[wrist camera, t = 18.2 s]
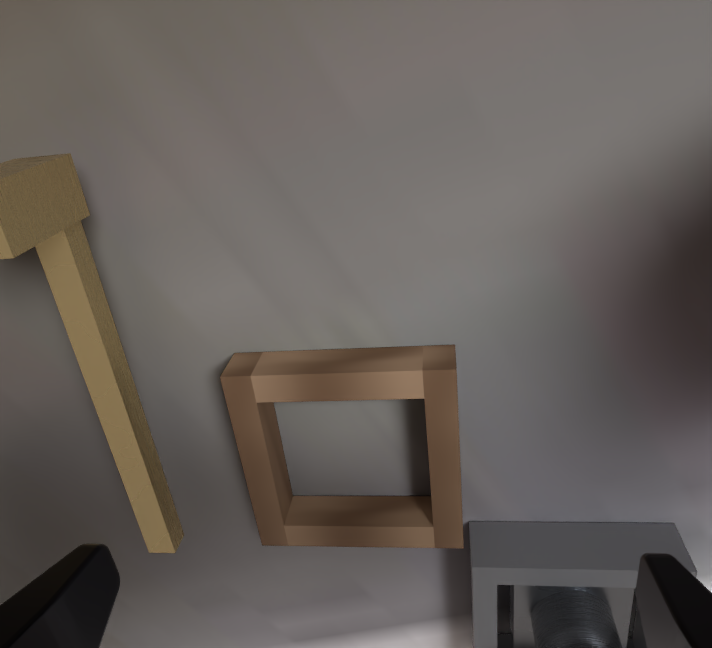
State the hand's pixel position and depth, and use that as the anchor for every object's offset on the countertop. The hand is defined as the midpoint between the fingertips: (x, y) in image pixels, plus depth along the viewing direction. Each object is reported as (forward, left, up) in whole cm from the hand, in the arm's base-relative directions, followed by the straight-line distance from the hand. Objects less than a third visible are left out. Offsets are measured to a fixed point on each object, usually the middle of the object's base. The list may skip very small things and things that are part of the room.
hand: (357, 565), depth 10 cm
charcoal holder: (-6, +17, -13) cm, 22 cm away
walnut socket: (+3, +8, -13) cm, 15 cm away
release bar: (+11, +3, -11) cm, 16 cm away
